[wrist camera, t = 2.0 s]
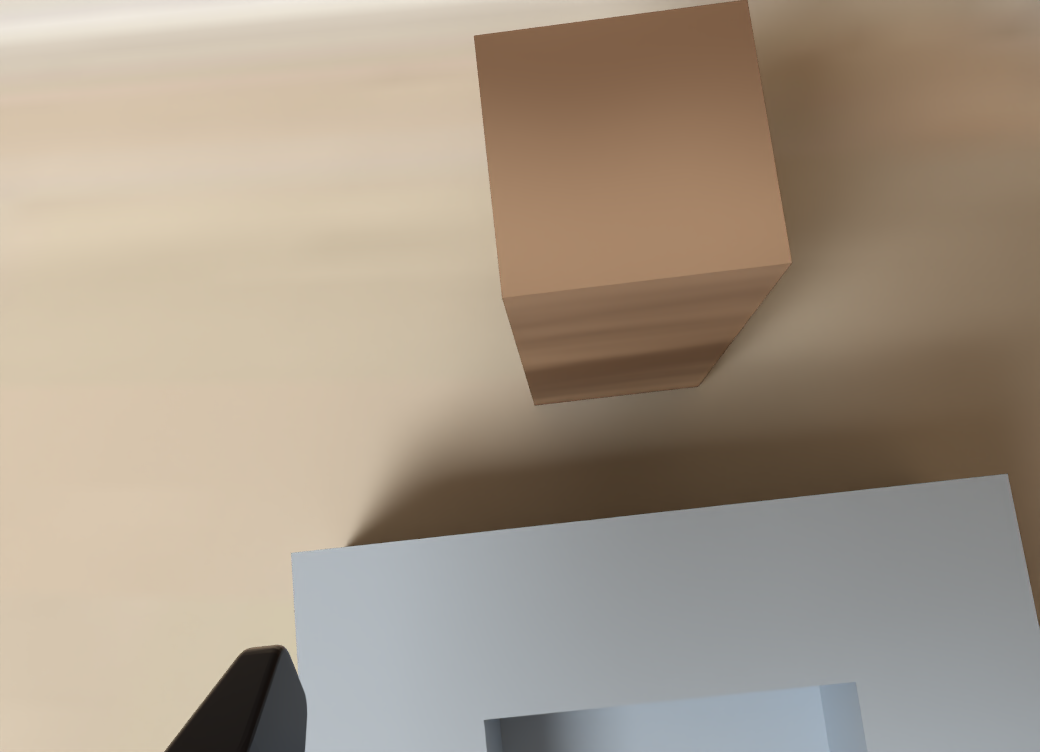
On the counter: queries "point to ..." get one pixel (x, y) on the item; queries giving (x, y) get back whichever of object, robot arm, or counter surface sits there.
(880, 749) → the well block
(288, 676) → the robot arm
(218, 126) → the counter surface
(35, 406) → the counter surface
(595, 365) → the walnut post
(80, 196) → the counter surface
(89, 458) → the counter surface
